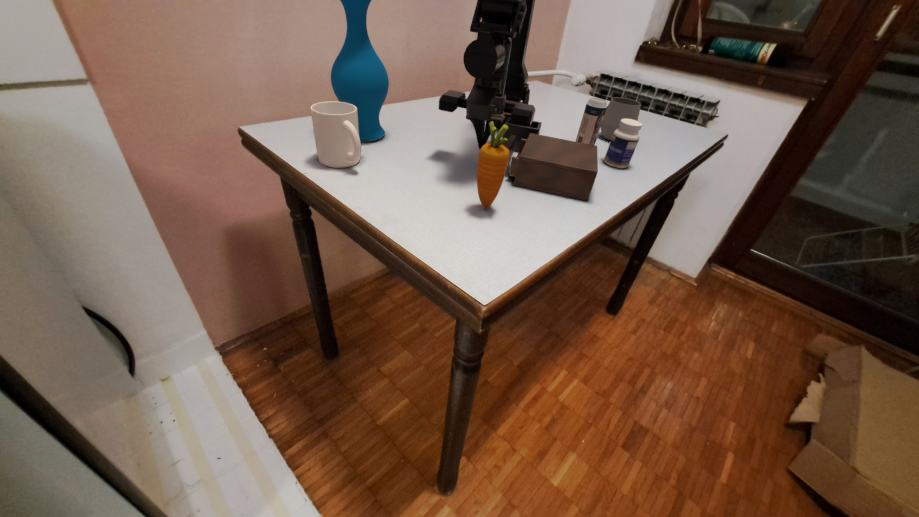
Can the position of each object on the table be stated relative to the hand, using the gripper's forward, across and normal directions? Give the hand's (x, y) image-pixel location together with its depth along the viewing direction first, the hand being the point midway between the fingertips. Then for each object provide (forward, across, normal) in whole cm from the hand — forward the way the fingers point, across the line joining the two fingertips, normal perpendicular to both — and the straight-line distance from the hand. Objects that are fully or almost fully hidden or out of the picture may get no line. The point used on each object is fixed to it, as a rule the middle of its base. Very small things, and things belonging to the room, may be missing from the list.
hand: (481, 149), depth 78 cm
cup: (+3, +30, +36) cm, 47 cm away
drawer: (+2, +10, 0) cm, 10 cm away
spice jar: (+3, +22, +21) cm, 31 cm away
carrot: (+3, +6, -19) cm, 20 cm away
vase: (+3, -29, +2) cm, 29 cm away
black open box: (+3, +6, +14) cm, 16 cm away
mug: (+3, -24, -14) cm, 29 cm away
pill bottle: (+3, +30, +16) cm, 34 cm away
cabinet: (+3, +16, 0) cm, 16 cm away
